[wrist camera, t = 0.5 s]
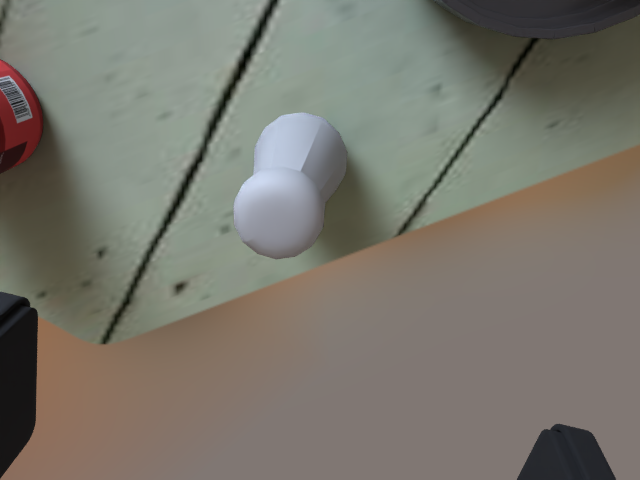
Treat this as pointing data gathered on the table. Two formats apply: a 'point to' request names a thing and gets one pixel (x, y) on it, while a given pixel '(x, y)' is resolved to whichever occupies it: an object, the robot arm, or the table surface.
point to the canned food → (17, 118)
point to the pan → (543, 15)
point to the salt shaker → (290, 185)
